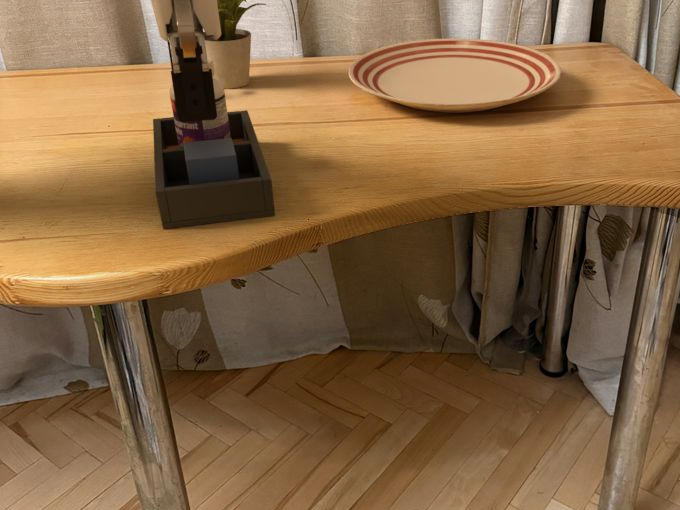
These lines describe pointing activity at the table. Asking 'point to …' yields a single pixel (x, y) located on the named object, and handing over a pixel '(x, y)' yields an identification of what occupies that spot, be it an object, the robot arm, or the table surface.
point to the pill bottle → (206, 127)
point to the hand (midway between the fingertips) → (194, 101)
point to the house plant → (230, 46)
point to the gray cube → (211, 161)
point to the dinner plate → (455, 74)
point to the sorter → (216, 197)
